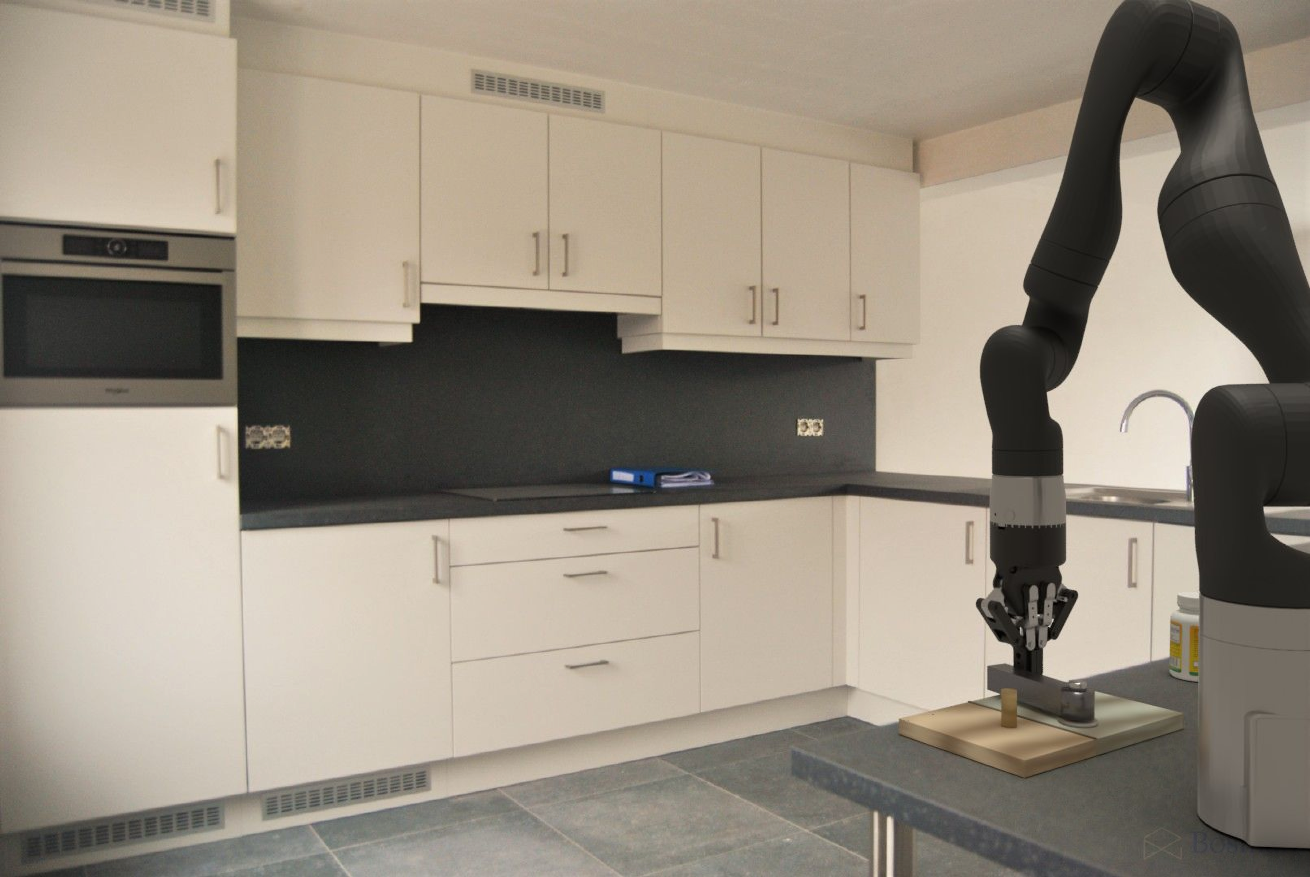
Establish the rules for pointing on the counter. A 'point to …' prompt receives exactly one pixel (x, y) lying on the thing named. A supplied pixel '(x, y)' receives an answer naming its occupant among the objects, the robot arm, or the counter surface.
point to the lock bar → (1044, 691)
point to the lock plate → (1036, 731)
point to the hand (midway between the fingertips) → (1028, 682)
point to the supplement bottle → (1185, 637)
